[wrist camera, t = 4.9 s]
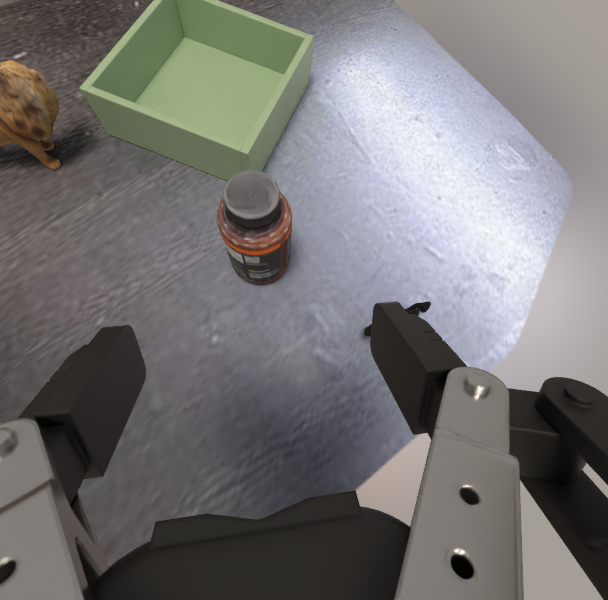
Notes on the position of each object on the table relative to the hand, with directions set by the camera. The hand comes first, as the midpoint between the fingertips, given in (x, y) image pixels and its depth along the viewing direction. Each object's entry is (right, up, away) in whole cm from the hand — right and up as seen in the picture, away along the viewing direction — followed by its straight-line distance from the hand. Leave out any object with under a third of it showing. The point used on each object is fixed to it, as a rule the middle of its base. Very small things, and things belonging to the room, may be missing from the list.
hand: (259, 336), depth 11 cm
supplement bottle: (-3, +5, +22) cm, 23 cm away
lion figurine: (-29, +17, +23) cm, 41 cm away
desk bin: (-9, +24, +27) cm, 38 cm away
